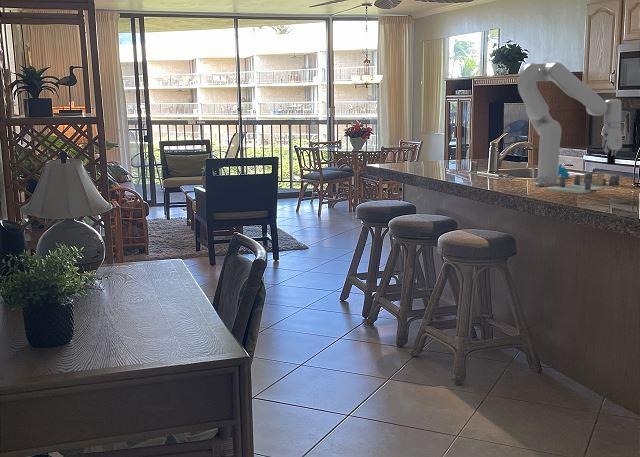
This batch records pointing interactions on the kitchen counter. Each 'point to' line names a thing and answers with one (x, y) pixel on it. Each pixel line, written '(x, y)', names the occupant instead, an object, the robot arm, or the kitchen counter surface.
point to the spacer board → (583, 184)
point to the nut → (598, 181)
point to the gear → (563, 171)
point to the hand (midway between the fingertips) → (611, 164)
